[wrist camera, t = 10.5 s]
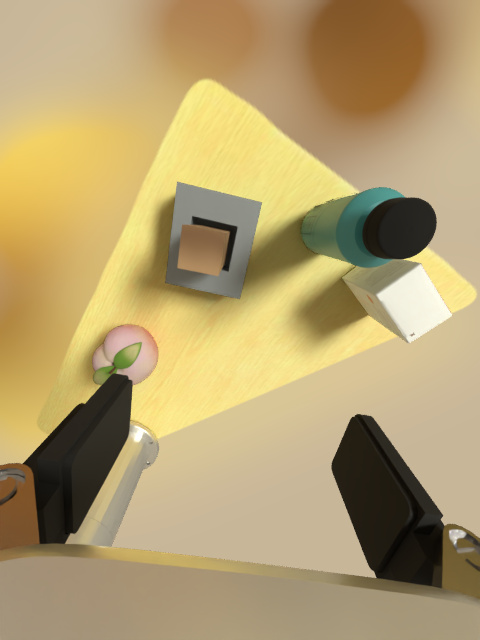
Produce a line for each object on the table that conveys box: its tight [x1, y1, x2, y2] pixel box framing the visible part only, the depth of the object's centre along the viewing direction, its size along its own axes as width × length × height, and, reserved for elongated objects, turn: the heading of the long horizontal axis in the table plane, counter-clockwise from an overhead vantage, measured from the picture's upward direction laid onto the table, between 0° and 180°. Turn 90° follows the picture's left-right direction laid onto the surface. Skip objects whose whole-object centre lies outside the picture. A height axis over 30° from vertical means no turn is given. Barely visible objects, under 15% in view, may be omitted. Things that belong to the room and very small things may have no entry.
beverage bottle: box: [301, 187, 437, 268], centre depth 26 cm, size 6×7×20 cm
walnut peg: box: [177, 224, 231, 276], centre depth 29 cm, size 4×4×12 cm
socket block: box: [165, 182, 262, 299], centre depth 33 cm, size 12×10×5 cm
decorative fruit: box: [92, 324, 158, 385], centre depth 37 cm, size 9×8×10 cm
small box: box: [342, 259, 452, 343], centre depth 33 cm, size 8×6×10 cm
